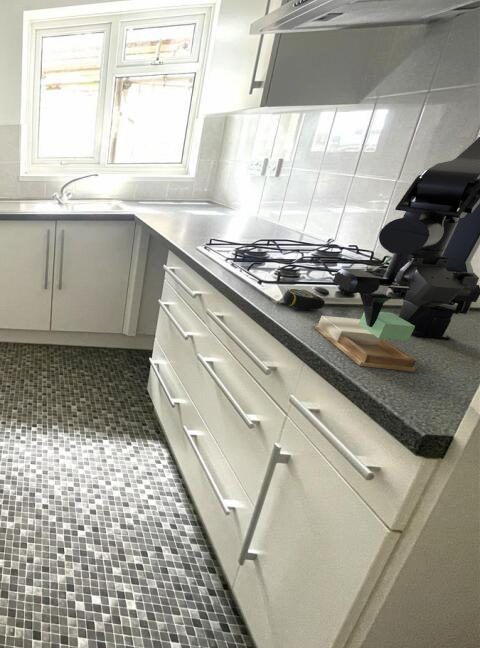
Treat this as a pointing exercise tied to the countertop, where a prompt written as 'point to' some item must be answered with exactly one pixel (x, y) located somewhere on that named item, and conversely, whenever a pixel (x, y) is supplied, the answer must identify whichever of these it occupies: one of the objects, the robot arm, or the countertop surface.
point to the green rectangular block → (389, 327)
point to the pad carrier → (363, 344)
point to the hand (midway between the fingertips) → (384, 327)
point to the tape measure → (303, 299)
